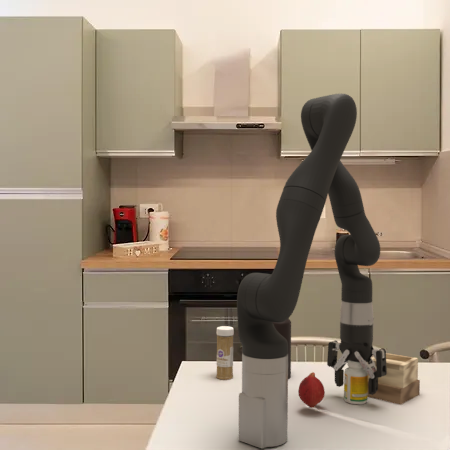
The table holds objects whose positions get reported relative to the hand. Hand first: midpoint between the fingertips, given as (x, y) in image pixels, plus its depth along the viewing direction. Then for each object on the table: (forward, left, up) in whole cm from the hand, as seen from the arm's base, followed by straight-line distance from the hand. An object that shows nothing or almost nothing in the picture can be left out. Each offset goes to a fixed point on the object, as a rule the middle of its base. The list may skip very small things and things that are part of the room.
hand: (355, 389), depth 136 cm
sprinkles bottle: (-7, +35, -3) cm, 36 cm away
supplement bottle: (0, 0, -3) cm, 3 cm away
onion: (-11, +5, -3) cm, 12 cm away
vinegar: (+3, +25, -3) cm, 25 cm away
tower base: (+10, -4, -3) cm, 11 cm away
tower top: (+10, -4, +1) cm, 11 cm away
